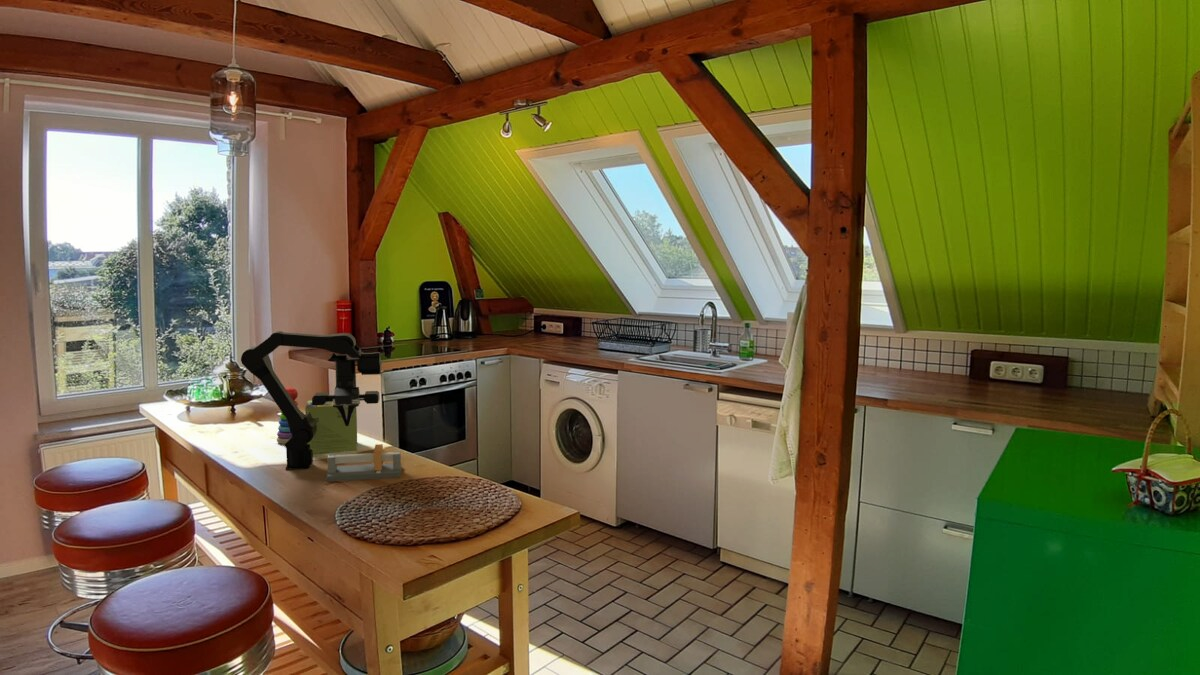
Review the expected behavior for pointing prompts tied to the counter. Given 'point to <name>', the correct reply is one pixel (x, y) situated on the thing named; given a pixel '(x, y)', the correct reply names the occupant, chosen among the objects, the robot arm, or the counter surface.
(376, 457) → the collar
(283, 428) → the stacking toy
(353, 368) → the robot arm
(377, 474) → the pipe rig
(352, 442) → the protein box
